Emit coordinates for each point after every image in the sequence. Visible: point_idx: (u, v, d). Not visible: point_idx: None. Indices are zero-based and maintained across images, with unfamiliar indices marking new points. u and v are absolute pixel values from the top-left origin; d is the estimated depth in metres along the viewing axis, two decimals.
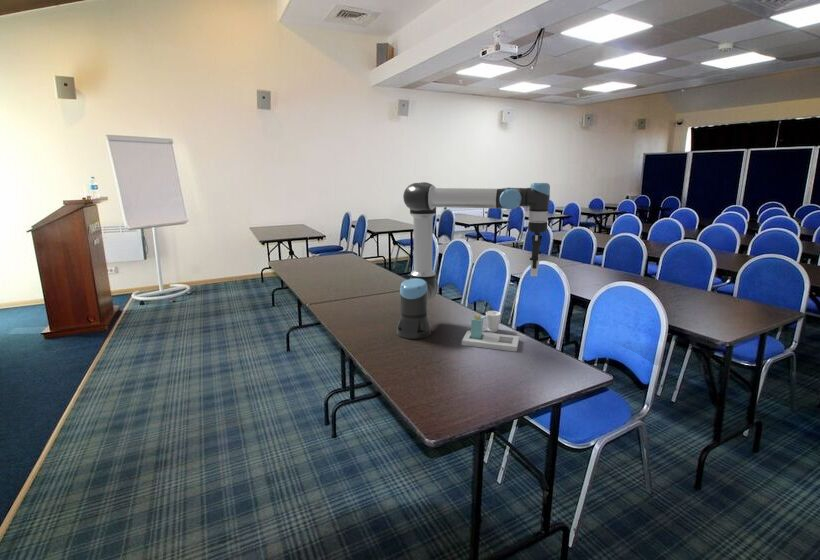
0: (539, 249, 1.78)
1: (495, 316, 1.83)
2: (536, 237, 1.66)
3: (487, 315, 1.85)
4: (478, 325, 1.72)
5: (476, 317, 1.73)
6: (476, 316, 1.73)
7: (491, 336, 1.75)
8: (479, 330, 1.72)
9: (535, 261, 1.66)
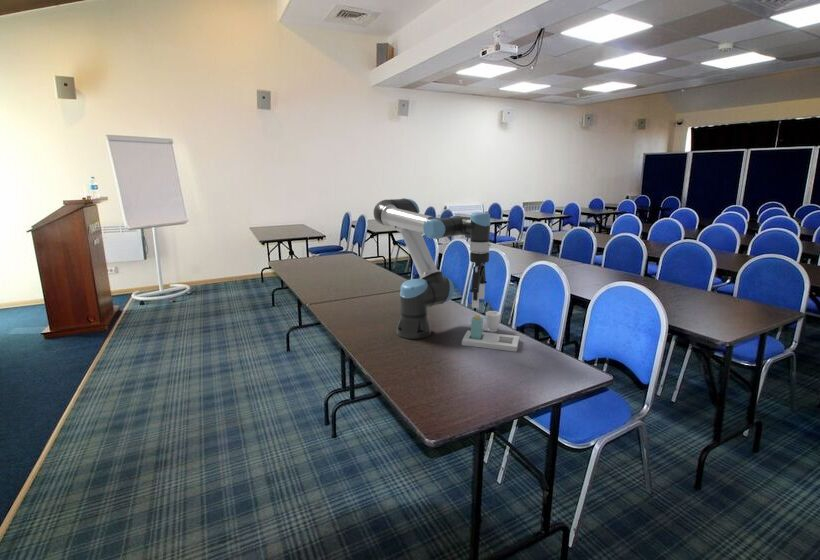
0: (484, 279, 1.75)
1: (495, 316, 1.83)
2: (476, 269, 1.62)
3: (487, 315, 1.85)
4: (478, 325, 1.72)
5: (476, 317, 1.73)
6: (476, 316, 1.73)
7: (491, 336, 1.75)
8: (479, 330, 1.72)
9: (475, 293, 1.62)
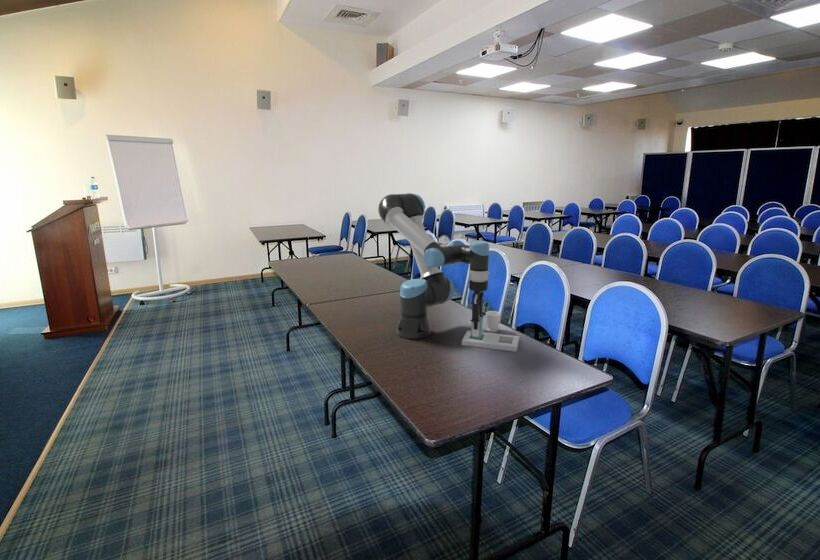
0: (481, 311, 1.75)
1: (495, 316, 1.83)
2: (475, 301, 1.65)
3: (487, 315, 1.85)
4: None
5: None
6: None
7: (491, 336, 1.75)
8: (479, 330, 1.72)
9: (476, 323, 1.70)
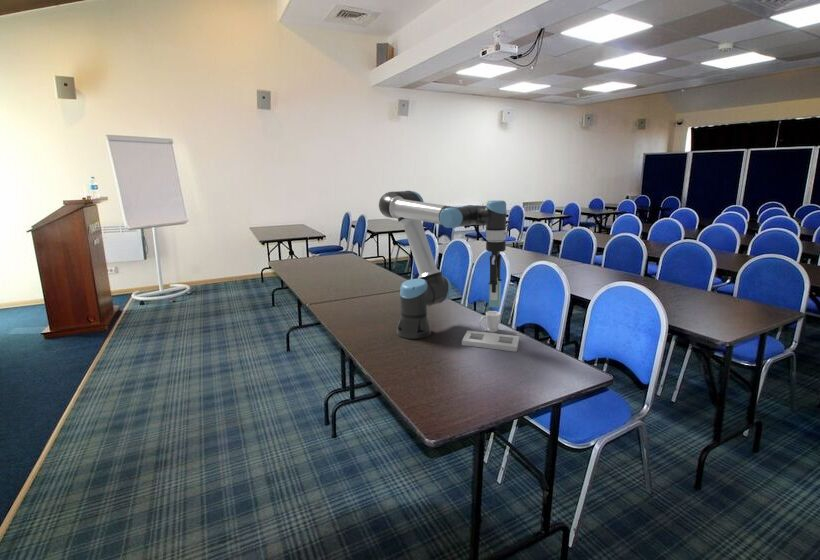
0: (499, 274, 1.68)
1: (495, 316, 1.83)
2: (492, 262, 1.59)
3: (487, 315, 1.85)
4: None
5: None
6: None
7: (491, 336, 1.75)
8: None
9: (494, 285, 1.63)
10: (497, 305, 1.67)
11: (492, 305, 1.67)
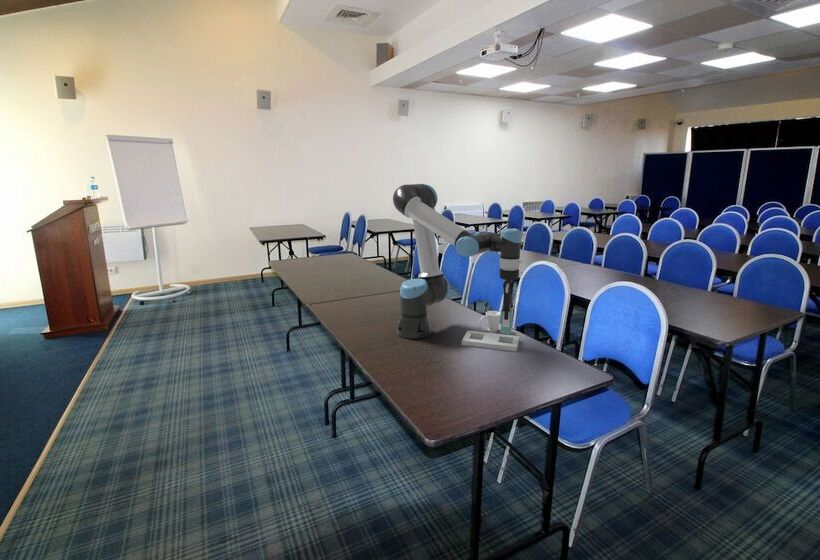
0: (511, 300, 1.70)
1: (495, 316, 1.83)
2: (506, 290, 1.60)
3: (487, 315, 1.85)
4: None
5: None
6: None
7: (491, 336, 1.75)
8: (510, 320, 1.67)
9: (507, 312, 1.65)
10: (509, 332, 1.68)
11: (504, 331, 1.69)
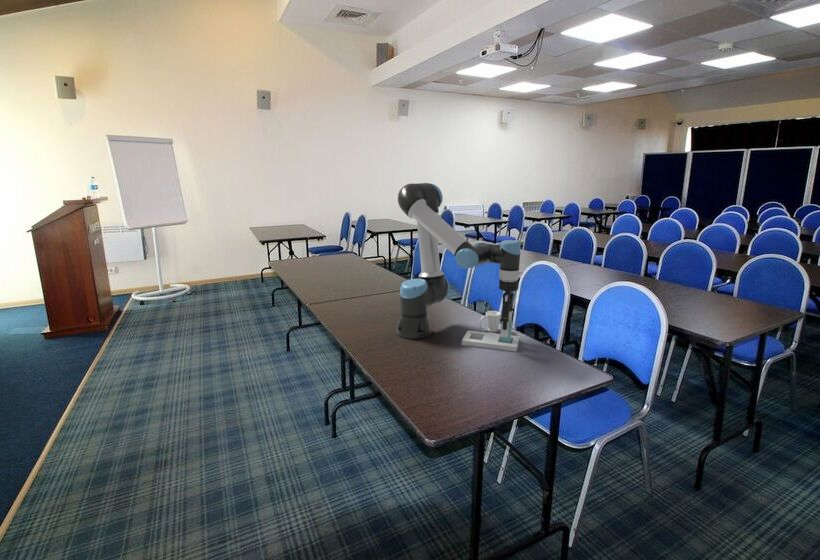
0: (511, 306, 1.73)
1: (495, 316, 1.83)
2: (506, 298, 1.61)
3: (487, 315, 1.85)
4: None
5: None
6: None
7: (491, 336, 1.75)
8: (509, 333, 1.68)
9: (505, 322, 1.62)
10: None
11: None
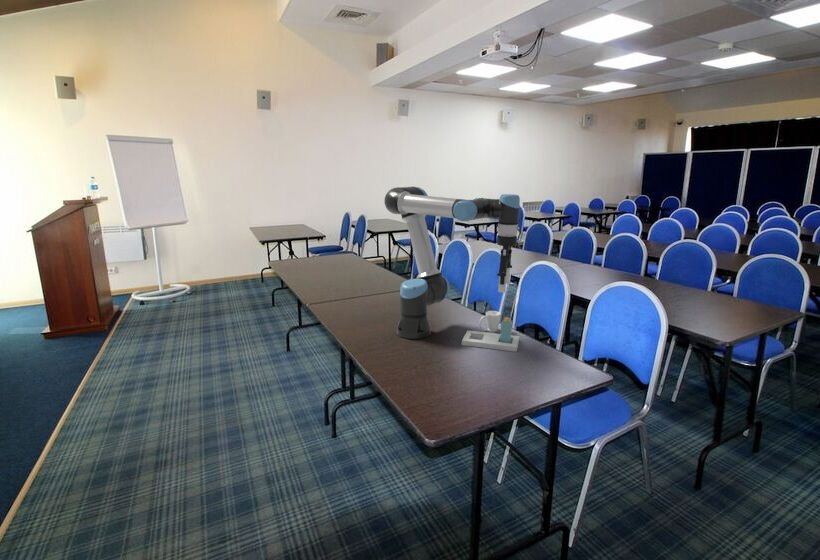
0: (509, 263, 1.70)
1: (495, 316, 1.83)
2: (504, 252, 1.57)
3: (487, 315, 1.85)
4: (507, 328, 1.68)
5: (506, 320, 1.69)
6: (506, 319, 1.69)
7: (491, 336, 1.75)
8: (509, 333, 1.68)
9: (503, 277, 1.58)
10: None
11: None
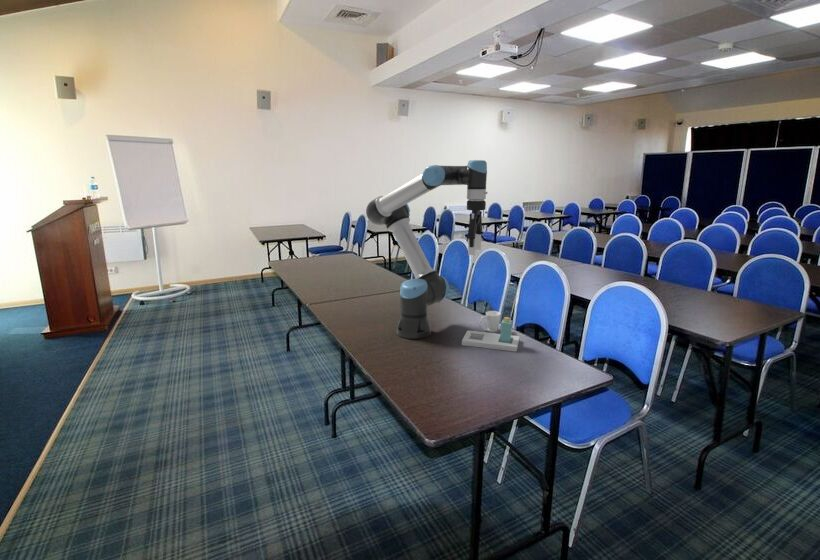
0: (480, 229, 1.76)
1: (495, 316, 1.83)
2: (472, 215, 1.63)
3: (487, 315, 1.85)
4: (507, 328, 1.68)
5: (506, 320, 1.69)
6: (506, 319, 1.69)
7: (491, 336, 1.75)
8: (509, 333, 1.68)
9: (472, 239, 1.64)
10: None
11: None
